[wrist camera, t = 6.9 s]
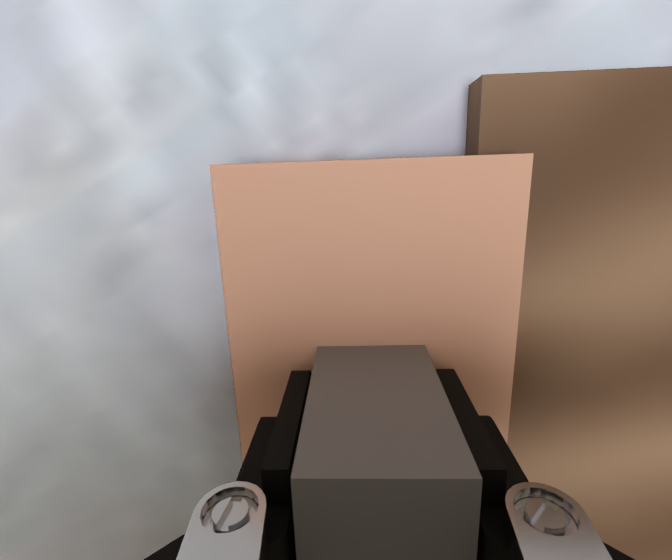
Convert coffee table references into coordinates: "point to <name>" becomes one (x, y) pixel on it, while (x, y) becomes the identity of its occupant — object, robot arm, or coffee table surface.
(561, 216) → the board
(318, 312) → the peach lid with handle
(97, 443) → the coffee table surface
